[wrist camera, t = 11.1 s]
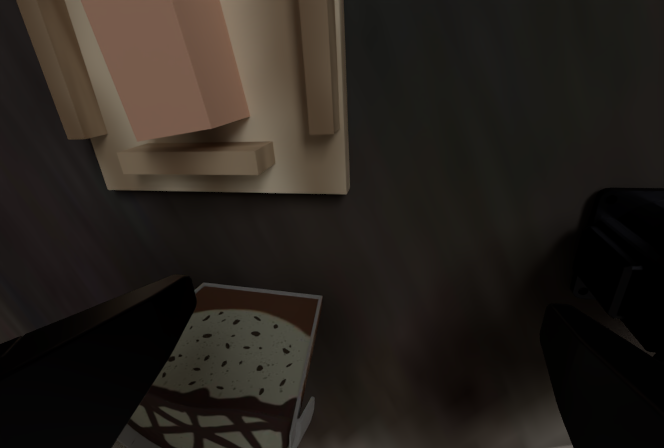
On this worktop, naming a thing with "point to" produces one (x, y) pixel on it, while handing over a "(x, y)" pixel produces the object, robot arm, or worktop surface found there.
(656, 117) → the worktop surface
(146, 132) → the pinkish brown block
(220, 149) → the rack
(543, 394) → the worktop surface
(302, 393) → the food container
